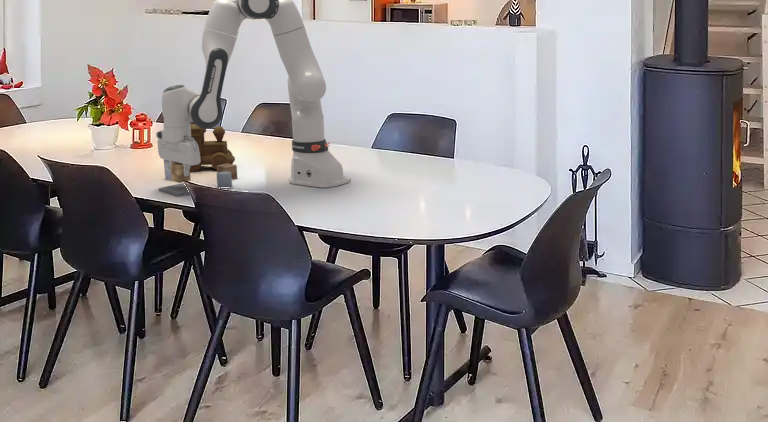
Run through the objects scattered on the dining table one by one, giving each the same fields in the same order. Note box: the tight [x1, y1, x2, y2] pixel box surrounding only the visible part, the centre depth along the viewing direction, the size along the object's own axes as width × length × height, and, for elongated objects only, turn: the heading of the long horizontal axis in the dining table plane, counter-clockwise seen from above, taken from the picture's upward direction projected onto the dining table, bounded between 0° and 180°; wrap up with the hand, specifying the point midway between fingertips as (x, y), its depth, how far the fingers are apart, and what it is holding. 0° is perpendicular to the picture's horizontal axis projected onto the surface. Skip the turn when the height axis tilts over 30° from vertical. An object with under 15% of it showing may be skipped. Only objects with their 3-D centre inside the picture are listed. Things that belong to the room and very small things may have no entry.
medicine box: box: [163, 159, 172, 181], centre depth 316 cm, size 8×4×9 cm, turn 141°
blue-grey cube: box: [216, 172, 233, 188], centre depth 300 cm, size 5×5×5 cm
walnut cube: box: [216, 163, 238, 180], centre depth 313 cm, size 5×5×5 cm
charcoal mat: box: [158, 182, 190, 197], centre depth 297 cm, size 12×11×1 cm
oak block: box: [171, 162, 191, 184], centre depth 295 cm, size 4×4×6 cm
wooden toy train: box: [190, 123, 236, 173], centre depth 329 cm, size 20×11×17 cm, turn 91°
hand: (180, 174), depth 296 cm, fingers closed on oak block, 4 cm apart
